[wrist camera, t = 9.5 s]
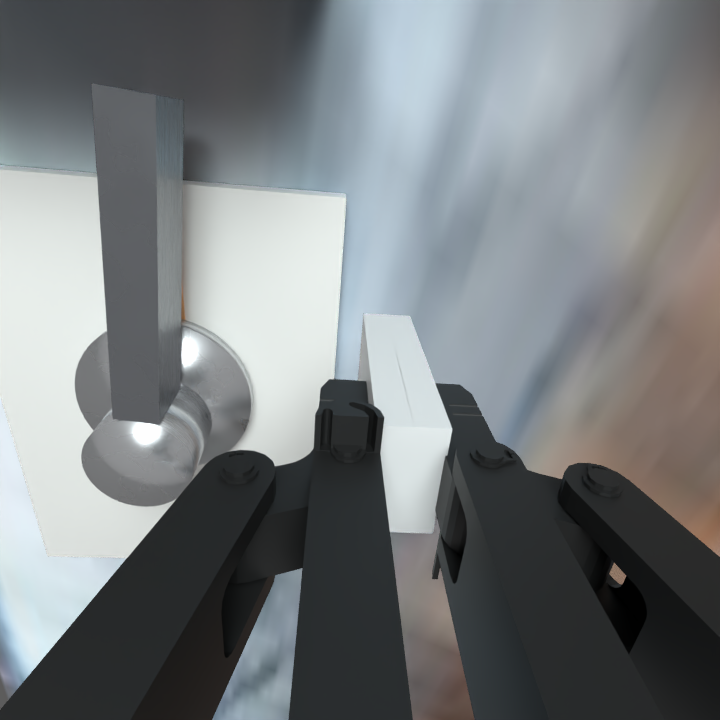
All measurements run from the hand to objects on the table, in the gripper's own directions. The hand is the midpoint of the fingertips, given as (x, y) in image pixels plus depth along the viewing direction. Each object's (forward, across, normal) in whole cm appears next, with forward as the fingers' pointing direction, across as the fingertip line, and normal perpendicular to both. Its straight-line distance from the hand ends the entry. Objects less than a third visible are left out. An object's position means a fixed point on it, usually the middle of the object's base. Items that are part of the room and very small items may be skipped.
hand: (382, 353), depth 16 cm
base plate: (+11, -10, -8) cm, 17 cm away
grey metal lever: (+9, -10, -2) cm, 13 cm away
